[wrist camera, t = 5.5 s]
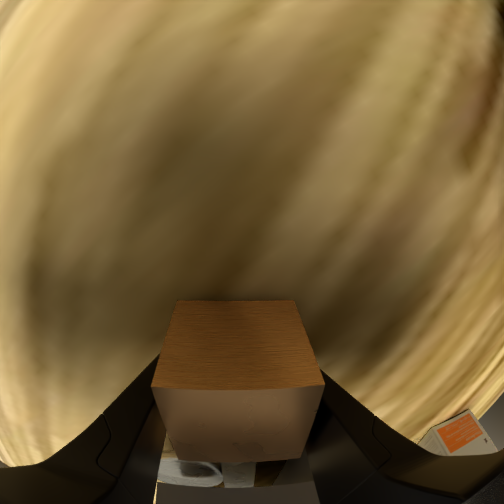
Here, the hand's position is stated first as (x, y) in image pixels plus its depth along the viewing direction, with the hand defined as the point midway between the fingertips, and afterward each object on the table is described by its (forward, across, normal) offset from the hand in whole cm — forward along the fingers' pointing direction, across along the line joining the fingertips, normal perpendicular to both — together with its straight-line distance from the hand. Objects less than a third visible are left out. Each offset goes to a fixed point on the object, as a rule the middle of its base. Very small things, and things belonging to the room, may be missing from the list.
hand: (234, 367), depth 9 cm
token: (+2, +2, +12) cm, 13 cm away
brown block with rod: (+1, -1, +7) cm, 7 cm away
